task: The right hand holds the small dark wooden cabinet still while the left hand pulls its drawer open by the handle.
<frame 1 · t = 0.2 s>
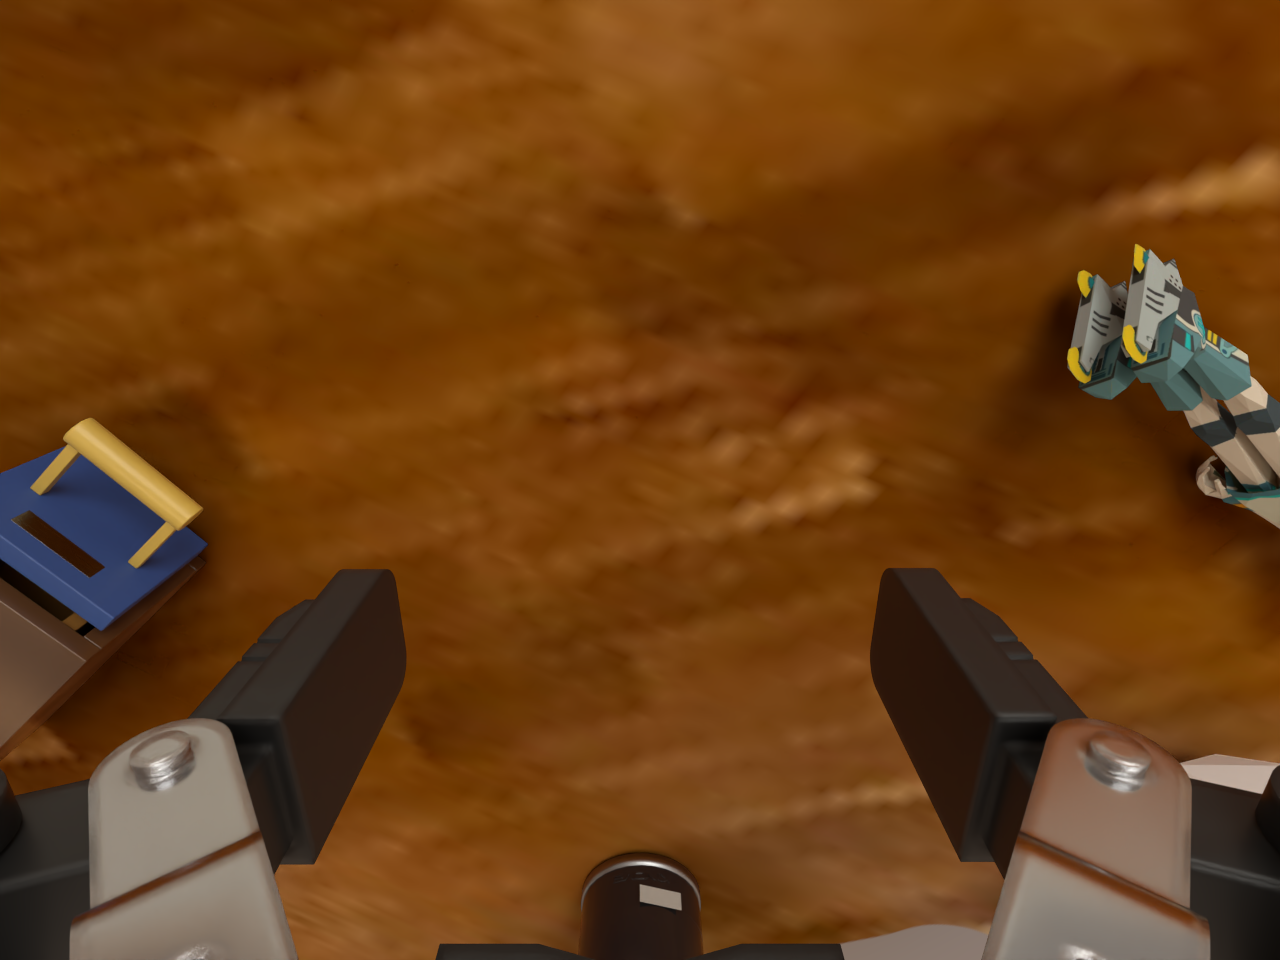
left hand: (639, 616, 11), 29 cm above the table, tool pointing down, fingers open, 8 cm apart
drawer: (32, 590, 39), point 5 cm above the table, slide at 0.9 cm
sphere: (1161, 800, 51), on the table
figurine: (1230, 428, 41), on the table
cabinet: (53, 597, 45), on the table
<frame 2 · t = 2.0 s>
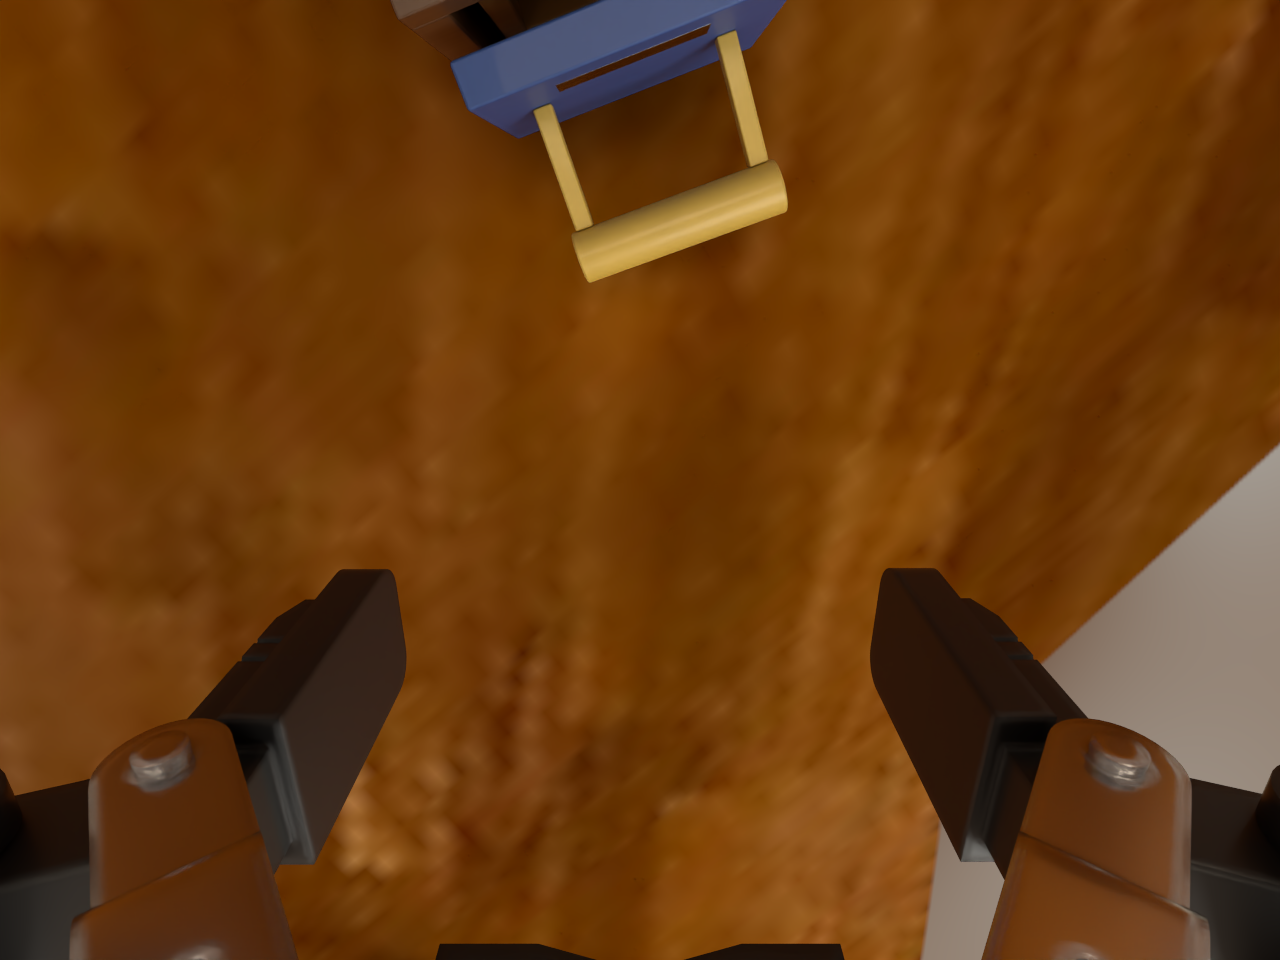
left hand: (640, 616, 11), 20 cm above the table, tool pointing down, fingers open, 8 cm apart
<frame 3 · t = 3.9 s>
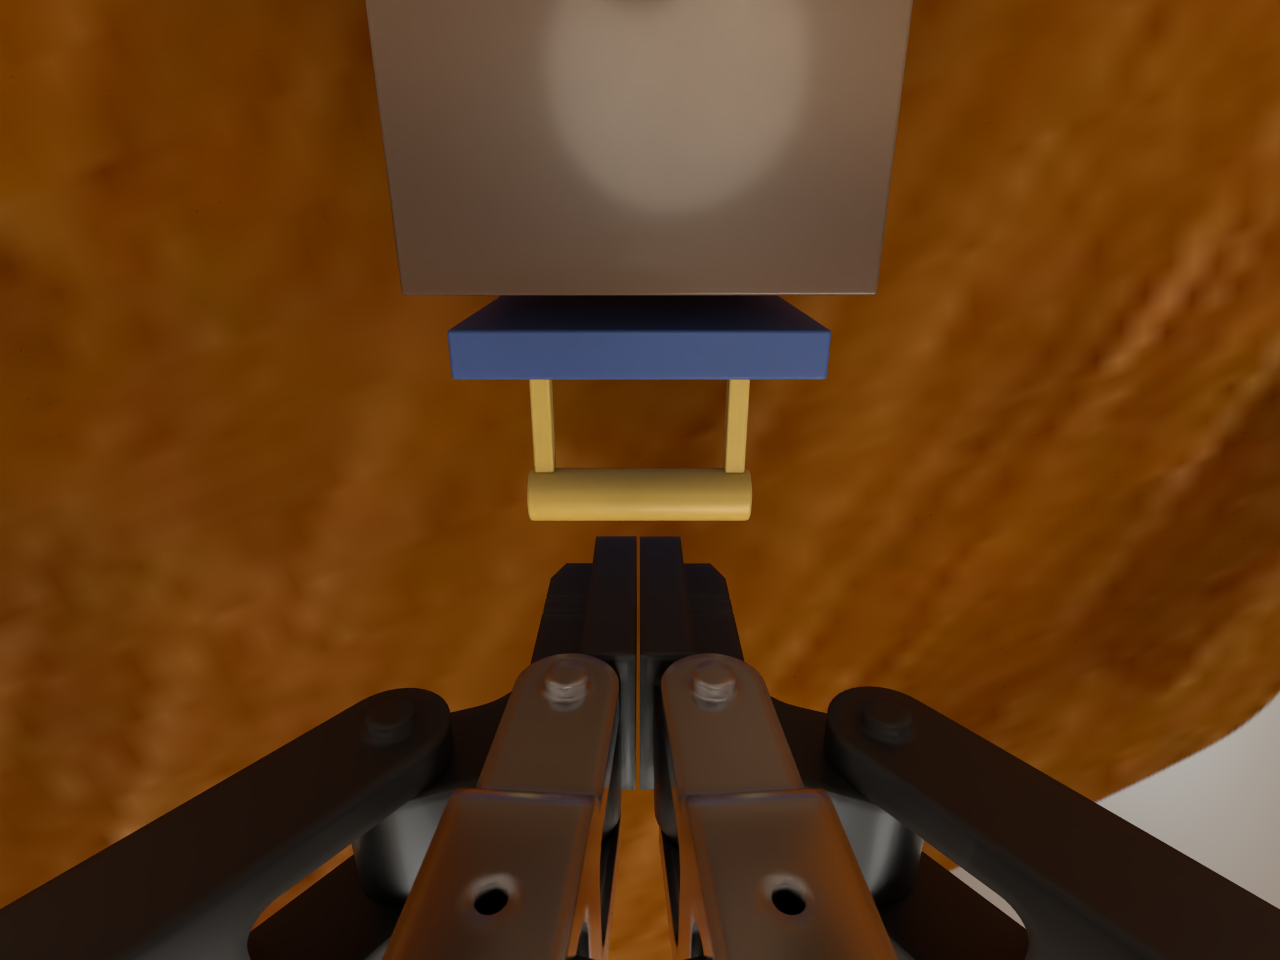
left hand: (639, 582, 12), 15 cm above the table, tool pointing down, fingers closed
drawer: (639, 103, 18), point 5 cm above the table, slide at 0.9 cm
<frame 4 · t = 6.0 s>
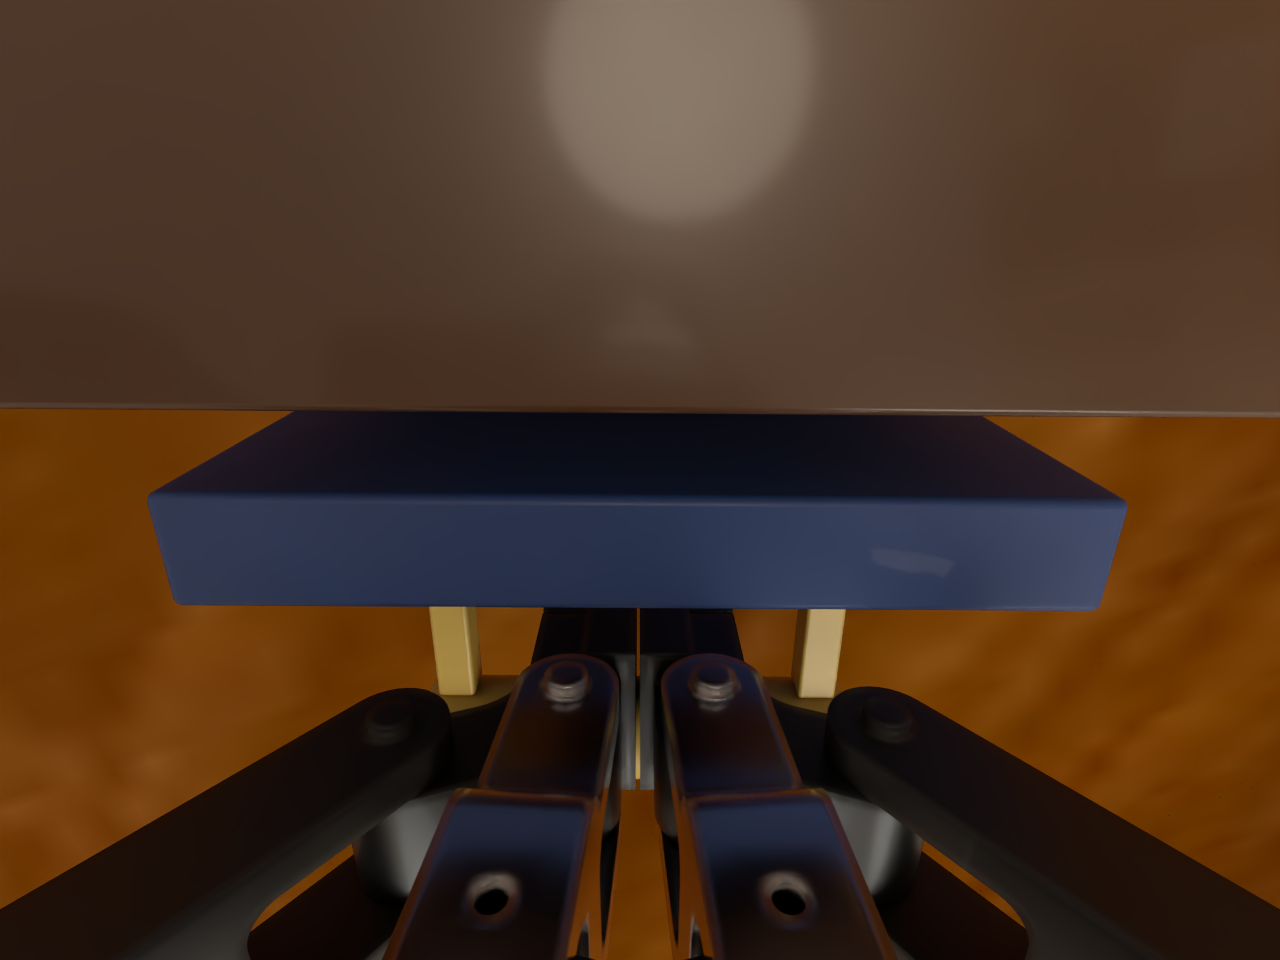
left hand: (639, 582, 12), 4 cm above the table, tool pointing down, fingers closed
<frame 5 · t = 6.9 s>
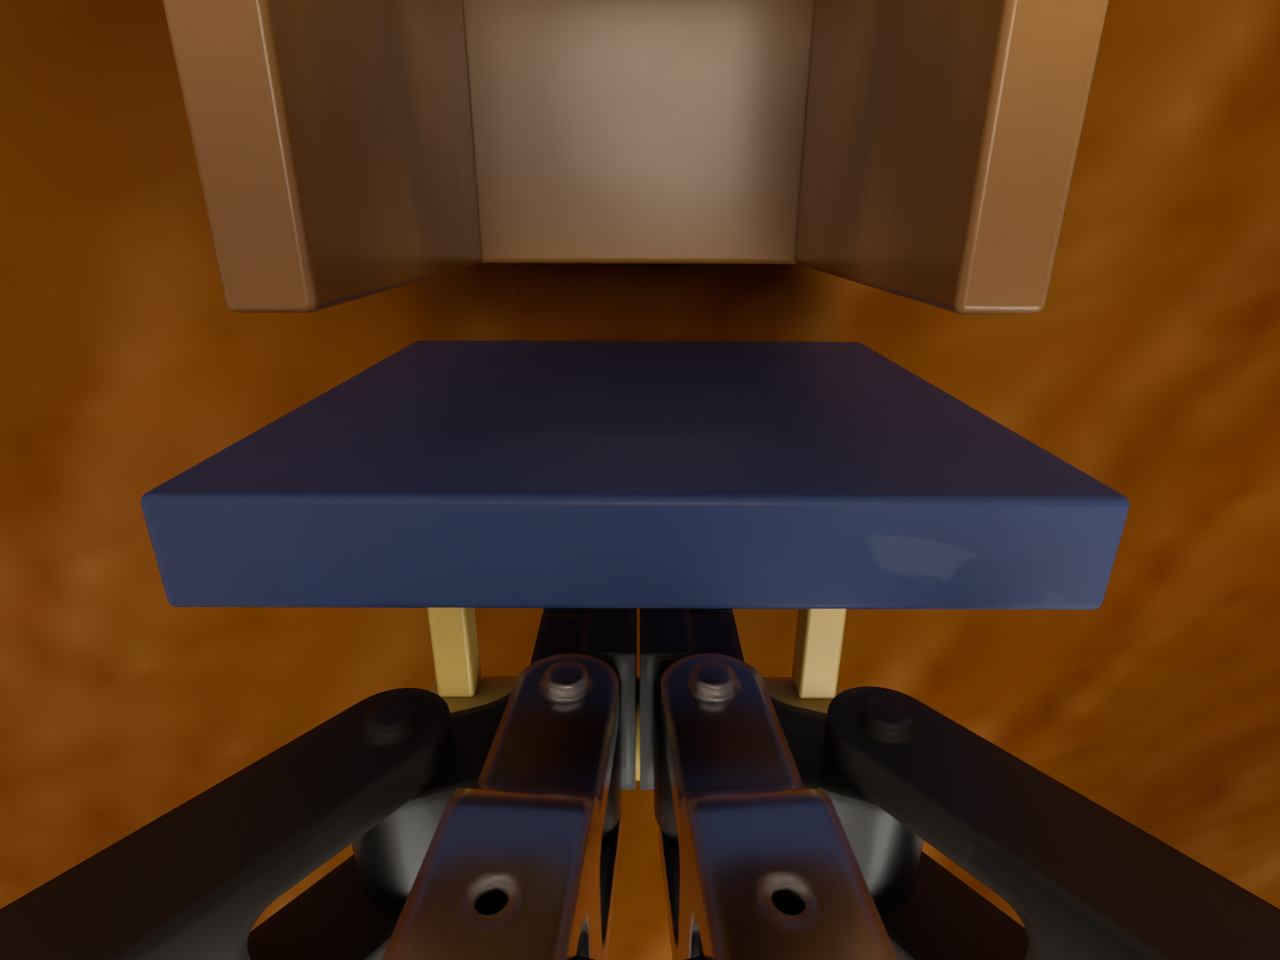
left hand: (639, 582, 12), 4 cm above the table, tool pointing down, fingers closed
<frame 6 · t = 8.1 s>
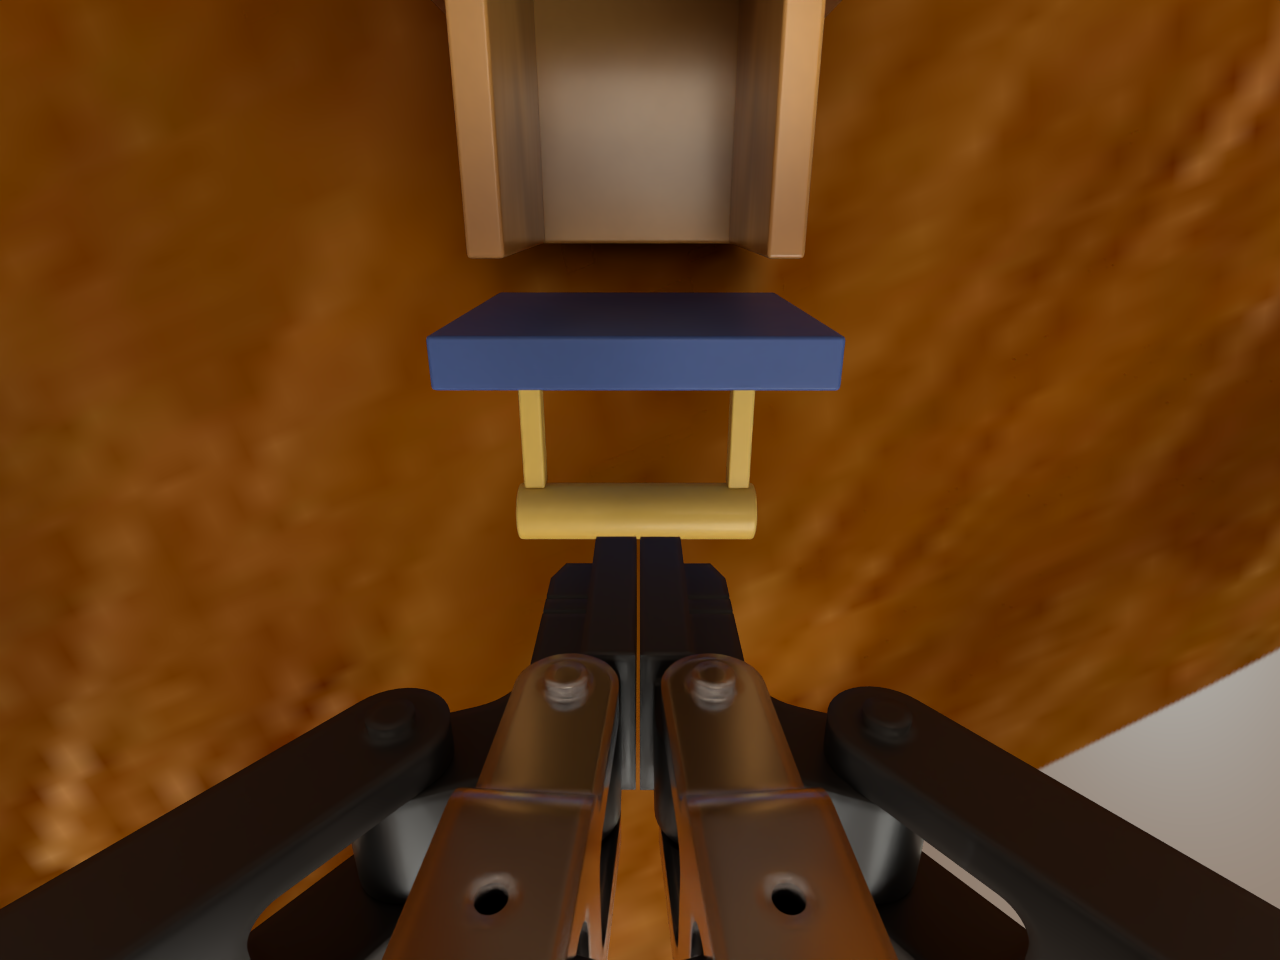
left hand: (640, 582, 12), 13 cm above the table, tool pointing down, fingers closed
drawer: (636, 91, 17), point 5 cm above the table, slide at 7.3 cm
when the right hand's fingers open (5 cm above the table, at t = 8.7 s): cabinet stays where it is, on the table.
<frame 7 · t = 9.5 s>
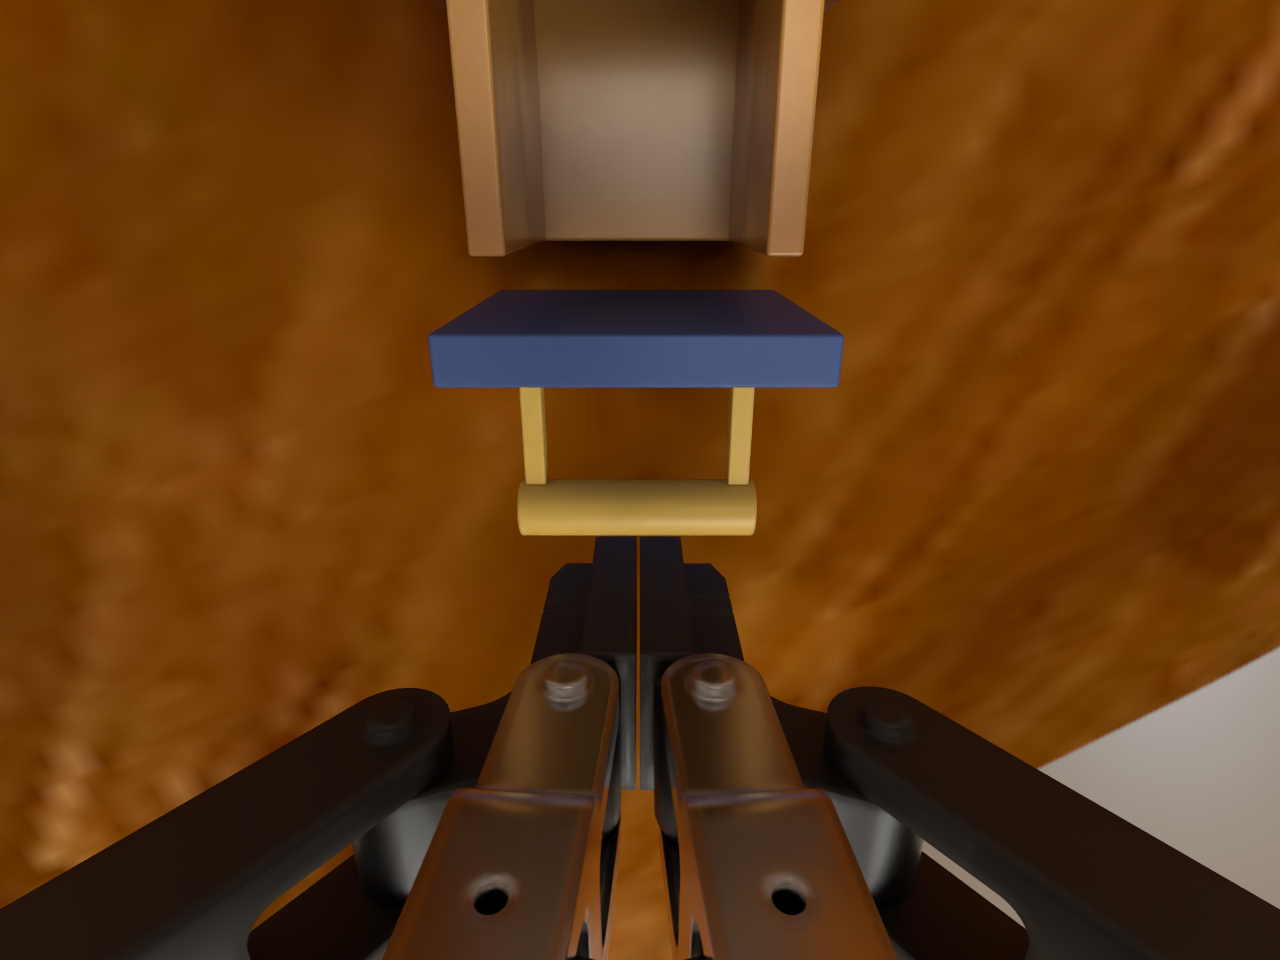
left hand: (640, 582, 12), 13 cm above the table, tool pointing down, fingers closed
drawer: (636, 89, 17), point 5 cm above the table, slide at 7.3 cm
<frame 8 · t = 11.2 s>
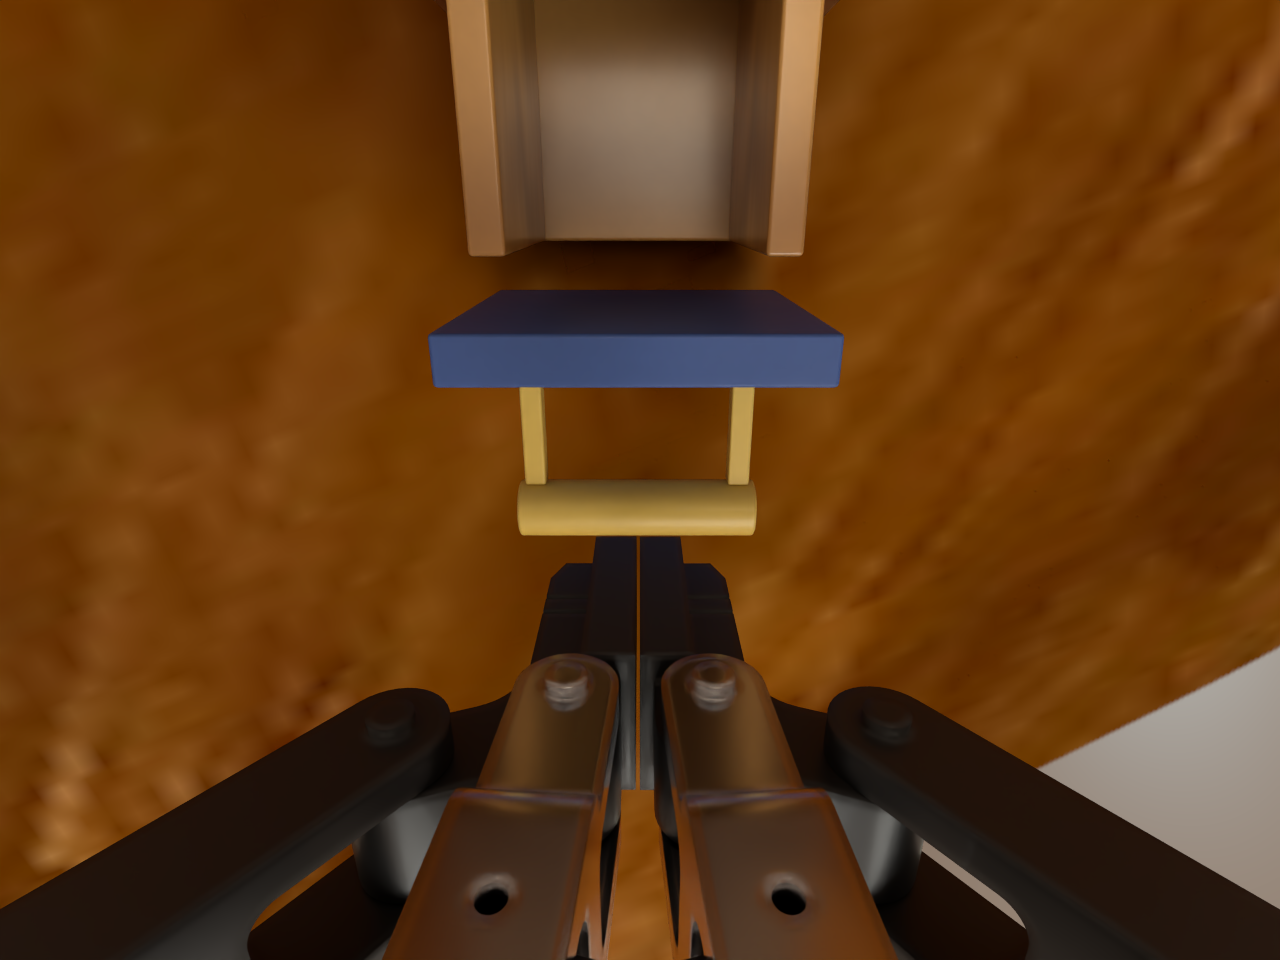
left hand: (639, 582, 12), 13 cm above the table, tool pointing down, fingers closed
drawer: (636, 89, 17), point 5 cm above the table, slide at 7.3 cm
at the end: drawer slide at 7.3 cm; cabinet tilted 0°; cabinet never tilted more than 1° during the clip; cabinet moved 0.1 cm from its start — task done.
